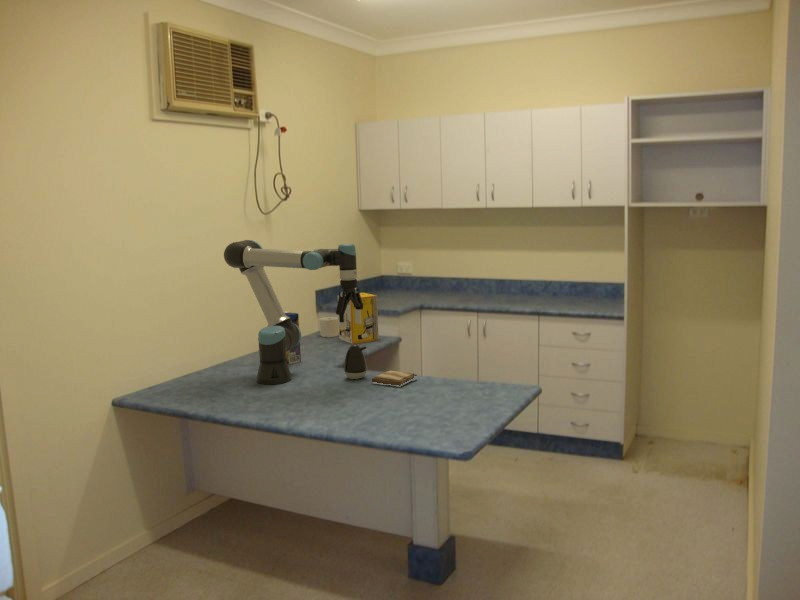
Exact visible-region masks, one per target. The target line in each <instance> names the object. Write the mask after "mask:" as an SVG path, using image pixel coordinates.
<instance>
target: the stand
mask: <svg viewBox="0 0 800 600" xmlns="http://www.w3.org/2000/svg"><path fill="white" fill-rule="evenodd" d="M414 376H417V377H418V375H417V374H416V373H413V372H408V371H407V372H405V371H399V370H398V371H397V370H391V369H390V370H387V371H385V372H382V373H380V374H378V375H376V376H374V377H372V378H371V383H372V382H377V383H383V384H391V385H399V386H400V385H401V384H403V383H405V382H407V381H409V380H411V379H413V378H414Z"/></svg>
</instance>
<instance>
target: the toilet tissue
mask: <svg viewBox="0 0 800 600" xmlns="http://www.w3.org/2000/svg"><path fill="white" fill-rule="evenodd" d="M319 327H320V328H319V329H320V332H319V333H320V337H323V338H334V337H338V336H339V317H337V316H336V317H335V316H327V317H320V318H319Z"/></svg>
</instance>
